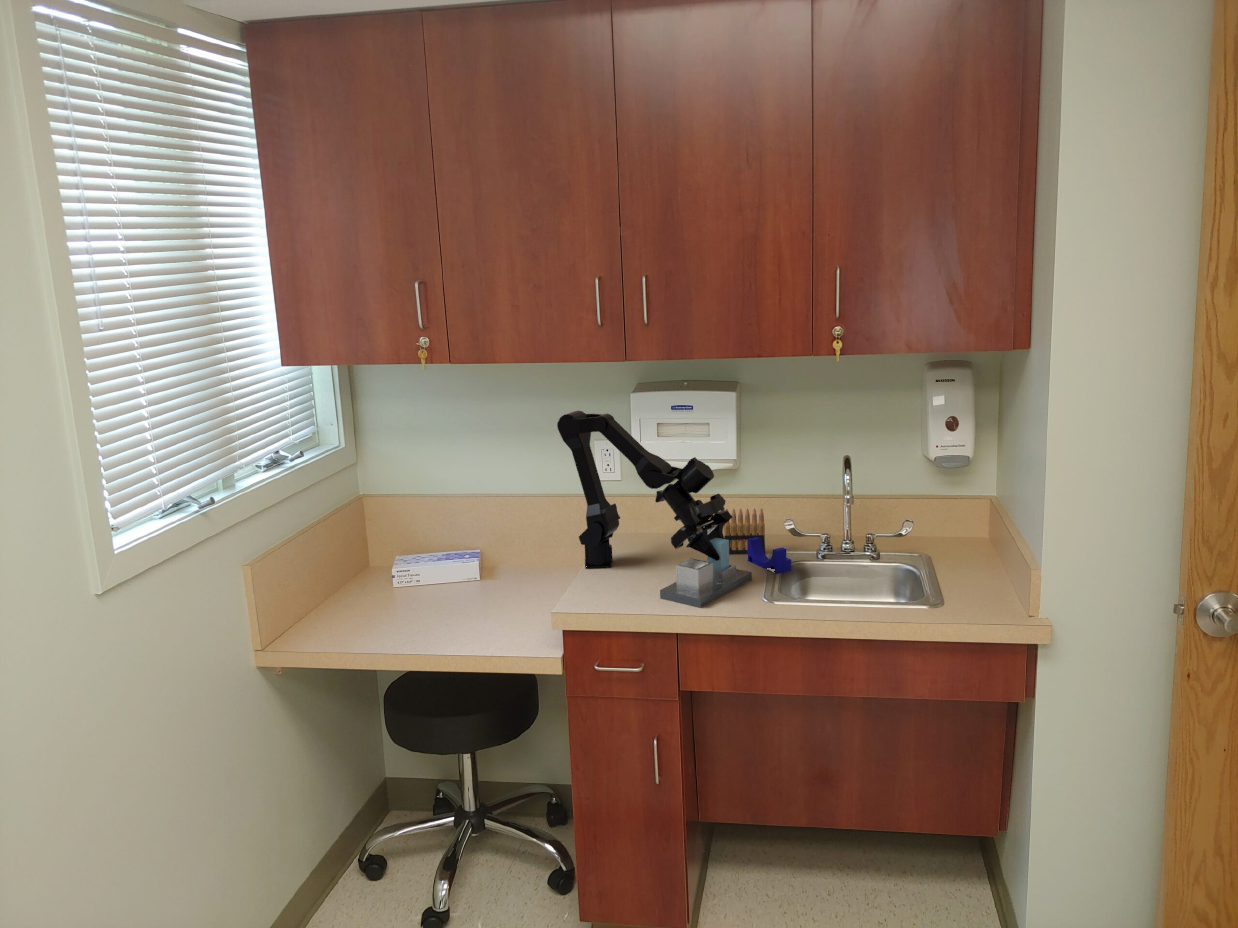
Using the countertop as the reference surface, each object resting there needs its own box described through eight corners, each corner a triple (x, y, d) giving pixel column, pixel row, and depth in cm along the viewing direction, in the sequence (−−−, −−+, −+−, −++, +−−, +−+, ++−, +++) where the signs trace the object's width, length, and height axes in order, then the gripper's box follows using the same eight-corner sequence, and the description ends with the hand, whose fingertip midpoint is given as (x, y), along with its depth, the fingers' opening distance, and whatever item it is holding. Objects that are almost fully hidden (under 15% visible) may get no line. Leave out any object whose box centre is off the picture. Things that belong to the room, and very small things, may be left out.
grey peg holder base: (700, 607, 216) (700, 575, 214) (660, 598, 223) (659, 566, 221) (752, 579, 233) (751, 549, 231) (713, 571, 240) (712, 542, 238)
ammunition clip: (723, 554, 253) (723, 509, 250) (723, 552, 255) (723, 507, 252) (765, 554, 252) (765, 509, 250) (764, 552, 254) (764, 507, 251)
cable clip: (791, 571, 239) (791, 547, 237) (776, 574, 237) (776, 550, 235) (762, 558, 249) (762, 536, 248) (747, 561, 247) (747, 538, 246)
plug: (720, 572, 228) (720, 543, 227) (707, 569, 231) (707, 541, 229) (729, 568, 231) (728, 539, 230) (716, 565, 233) (715, 537, 232)
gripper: (680, 493, 222) (722, 548, 218) (725, 477, 236) (765, 528, 232) (653, 521, 229) (693, 575, 224) (698, 504, 243) (736, 554, 238)
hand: (723, 557), depth 229 cm, fingers closed on plug, 4 cm apart
